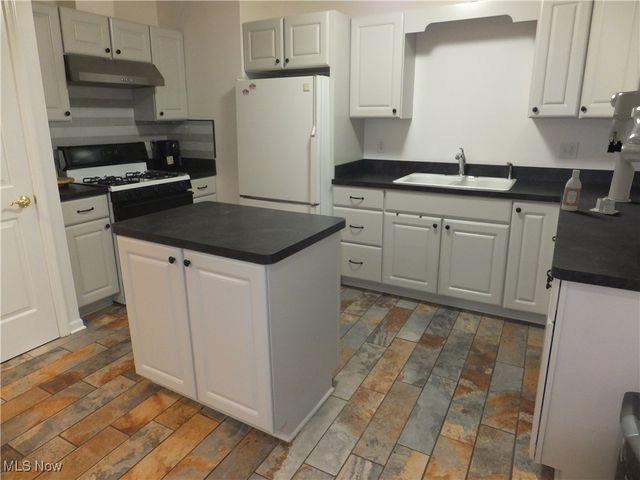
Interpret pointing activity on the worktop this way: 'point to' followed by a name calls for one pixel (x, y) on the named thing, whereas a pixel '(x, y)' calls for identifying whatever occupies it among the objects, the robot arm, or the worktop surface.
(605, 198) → the duct stub
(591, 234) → the worktop surface
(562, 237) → the worktop surface
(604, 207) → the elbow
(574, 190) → the bath foam
